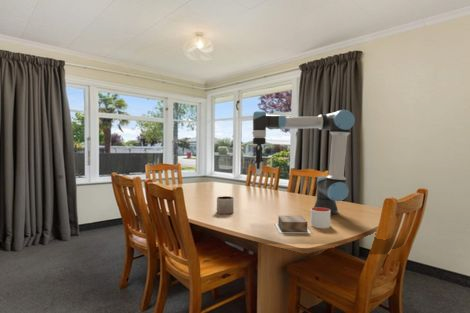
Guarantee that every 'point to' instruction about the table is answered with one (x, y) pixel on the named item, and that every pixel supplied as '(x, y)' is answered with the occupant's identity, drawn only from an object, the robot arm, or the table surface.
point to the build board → (291, 232)
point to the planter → (225, 205)
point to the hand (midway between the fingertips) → (259, 173)
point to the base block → (292, 224)
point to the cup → (320, 217)
